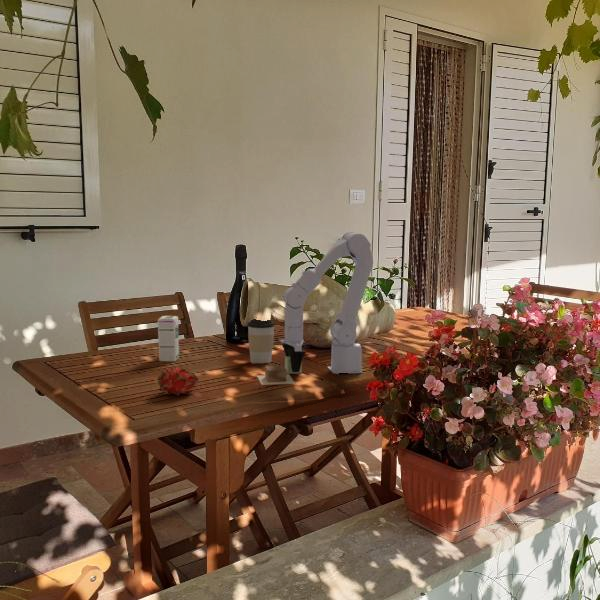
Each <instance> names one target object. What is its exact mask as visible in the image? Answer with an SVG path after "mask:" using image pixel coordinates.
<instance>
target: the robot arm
mask: <svg viewBox="0 0 600 600" xmlns="http://www.w3.org/2000/svg"><path fill="white" fill-rule="evenodd" d="M371 244H372V243H371V242H370V241H369V240H368V238H367V237H366V235H364V234H362V233H356V232H353V231H349V232H345V233H344V234H343V235H342V236H341V237H340V238H339V239H337V241H336V242H335V243H334V245H332V247H331V248H330V249H329V250H328V252H327V253H326V254H325V255H324V256H323V257H322V259H321V260H320V261H319V262H318V263H317V264H316V265H315V267H314V268H307V270H302V272H301V276H300V277H299V278H298V279H297V280H296V281H295V282H292V284H291V287H288V288H287V289H285V292H284V294H283V296H282V297H283V301H284V302H285V306H284V307H285V310H284V339H280V343H281V346H282V348H283V350H284V353H285V356H290V361H291V368H292V372H299V371H300V367H301V362H302V363H303V359H304V357H305V355H306V353H307V351H306V349H303V348H302V345H303V344H304V305H305V304H306V301H307V297H309V296H310V294H311V293H312V292H313V291H315V289H317V287H318V286H319V285H320V283H322V280H323V279H322V276H323V275H324V274H325V273H326V272H327V271H328V270H329V269H330V268H331V267H332V266H333V265H334V264H336V263H337V261H339V259H341V258H345V257H351V259H352V261H353V262H354V264H355V265H354V269H353V272H352V275H351V278H350V282H349V285H348V289H347V291H346V294H345V298H344V301H343V304H342V307H341V311H340V312H339V313H338V314H337V316H336V319H335V321H333V322H332V324H331V326H330V328H329V329H330V330H329V331H330V335H331V337H332V340H331V352H330V353H331V356H330V357H331V358H330V359H331V361H330V366H327V369H328V370H330V372H331V373H332V374H336V375H340V374H339V373H348V374H362V373H363V371H362V365H363V363H362V362H363V350H362V349H363V348H362V346H361V344H360V343H356V342H355V341H356V339H357V334H358V332H357V328H358V313H359V311H360V307H361V304H362V301H363V297H364V294H365V291H366V288H367V285H368V281H369V279H370V276H371V272H372V269H373V266H374V259H373V255H372V250H371V247H372V245H371Z"/></svg>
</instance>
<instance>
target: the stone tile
mask: <svg viewBox="0 0 600 600" xmlns="http://www.w3.org/2000/svg"><path fill="white" fill-rule="evenodd" d="M256 378H257V379H258V381H259V383H260V384H261V386H266V385H269V386H270V385H271V386H272V385H289V384H290V385H291V384H294V385H295V384H296V382H295V381H294V379H293V378H292V376H291V375H290V374H287V373H286V382H268V381H267V380H266V378H265V374H263V375H256Z"/></svg>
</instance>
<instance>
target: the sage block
mask: <svg viewBox="0 0 600 600" xmlns="http://www.w3.org/2000/svg"><path fill="white" fill-rule="evenodd" d="M302 365H303V361H302V362H301V367H300V371H299V372H292V368H291V361H290V356H286V355H285V356H284V367H285V369H286V370H287V372H286V374H289V375H290V374H302V373H303V366H302Z"/></svg>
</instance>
